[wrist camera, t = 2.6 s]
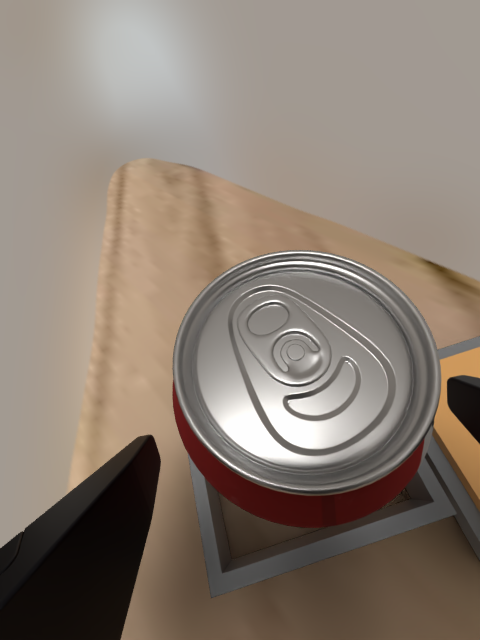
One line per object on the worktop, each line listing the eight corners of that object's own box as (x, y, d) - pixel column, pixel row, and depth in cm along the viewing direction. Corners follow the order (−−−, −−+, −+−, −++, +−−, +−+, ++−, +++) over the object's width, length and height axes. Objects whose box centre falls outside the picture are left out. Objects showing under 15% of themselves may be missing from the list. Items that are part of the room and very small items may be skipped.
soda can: (273, 531, 14) (249, 664, 4) (211, 414, 17) (105, 315, 7) (375, 451, 15) (573, 385, 5) (298, 357, 18) (318, 198, 8)
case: (429, 509, 14) (457, 513, 11) (222, 579, 13) (211, 598, 11) (333, 329, 19) (339, 310, 17) (185, 376, 19) (173, 362, 17)
